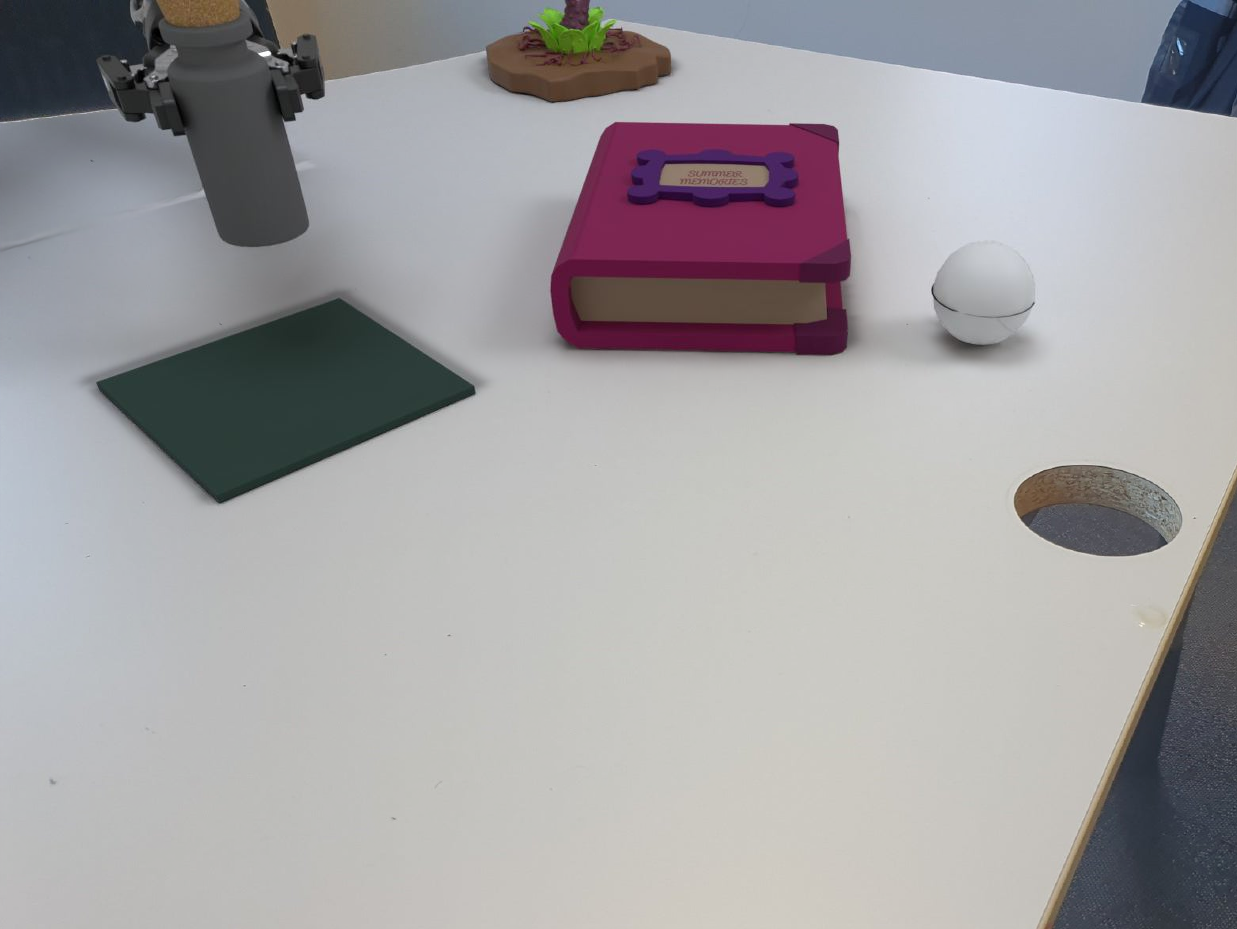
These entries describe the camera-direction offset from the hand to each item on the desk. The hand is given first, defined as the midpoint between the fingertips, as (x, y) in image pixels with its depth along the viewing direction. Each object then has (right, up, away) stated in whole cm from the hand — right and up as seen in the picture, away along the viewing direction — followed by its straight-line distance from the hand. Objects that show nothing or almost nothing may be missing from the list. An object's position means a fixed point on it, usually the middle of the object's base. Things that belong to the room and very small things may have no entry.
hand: (230, 112), depth 68 cm
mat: (0, -16, +8) cm, 18 cm away
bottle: (-1, -5, +7) cm, 9 cm away
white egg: (+48, -12, +14) cm, 52 cm away
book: (+28, -3, +23) cm, 37 cm away
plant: (+10, +30, +62) cm, 70 cm away
